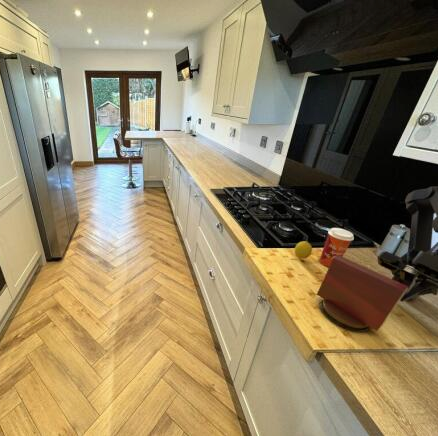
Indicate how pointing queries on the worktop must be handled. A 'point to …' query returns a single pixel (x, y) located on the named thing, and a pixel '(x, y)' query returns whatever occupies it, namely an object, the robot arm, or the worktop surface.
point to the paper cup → (335, 245)
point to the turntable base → (341, 323)
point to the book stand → (359, 294)
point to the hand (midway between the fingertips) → (399, 300)
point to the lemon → (303, 250)
